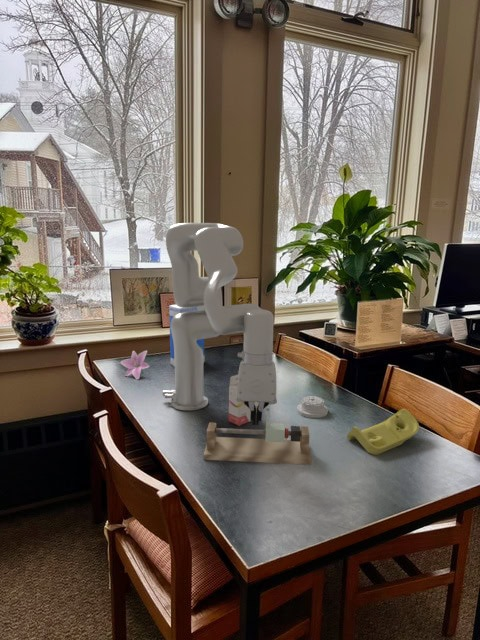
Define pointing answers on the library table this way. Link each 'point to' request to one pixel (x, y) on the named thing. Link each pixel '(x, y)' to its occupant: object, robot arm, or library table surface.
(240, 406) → the ink cartridge box
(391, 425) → the plastic component
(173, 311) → the string lights box
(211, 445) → the lead screw slide
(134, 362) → the lily
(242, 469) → the library table surface
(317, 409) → the mechanical component
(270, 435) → the pale green slide carriage
